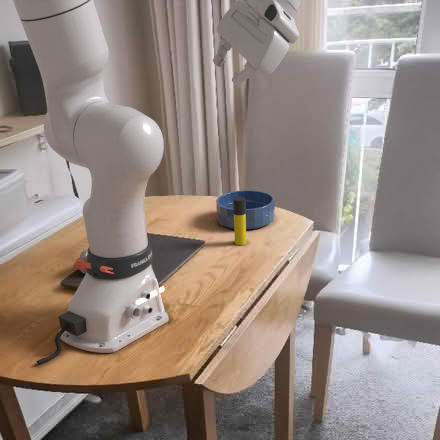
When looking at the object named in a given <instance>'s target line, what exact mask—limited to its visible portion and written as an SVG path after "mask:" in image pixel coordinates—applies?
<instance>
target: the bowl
mask: <svg viewBox="0 0 440 440" xmlns="http://www.w3.org/2000/svg"><path fill="white" fill-rule="evenodd" d="M235 197H244V198H245V199H246V230H255V229H259V228H262V227H265V226H268V225H270V224H271V223H272V222H274V220H275V217H276V213H275V212H276V199H275V196H274V195H273V194H270V193H269V192H266V191H262V190H255V189H242V190H241V189H240V190H234V191H229V192H225V193H223V194H221V195H219V196H218V197H217V198H216V200H215V204H216V205H215V210H216V220H217V223H218V224H220V225H221V226H224V227H226V228H230V229H233V230H234V209H233V199H234V198H235Z"/></svg>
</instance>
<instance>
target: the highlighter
mask: <svg viewBox="0 0 440 440" xmlns="http://www.w3.org/2000/svg"><path fill="white" fill-rule="evenodd" d="M233 209H234V229H233V231H234V233H233V234H234V245H236V246H244V245H247V229H246V199H245V198H244V197H235V198H234V199H233Z"/></svg>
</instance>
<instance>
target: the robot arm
mask: <svg viewBox="0 0 440 440" xmlns="http://www.w3.org/2000/svg"><path fill="white" fill-rule="evenodd" d="M12 1H13V5H14V8H15V10H16V13H17V16H18V18H19V21H20V23H21V25H22V28H23V31H24V34H25V36H26V38H27V41H28V43H29V46H30V48H31V51H32V54H33V57H34V58H35V62H36V64H37V67H38V71H39V73H40V77H41V80H42V86H43V90H44V95H45V102H46V103H45V104H46V113H45V116H44V120H43V133H44V137H45V140H46V142H47V144H48V146H49V147H50V149H51V150H53V151H54V152H55V153H56V154H57V155H58V156H60V157H61V158H62V159H64V160H65V161H67V162H68V163H69V164H73V165H75V166H79V167H81V168H86V169H87V170H88V171H89V173H90V177H91V189H90V196H89V198H87V200H85V202H84V204H83V206H82V217H83V218H82V219H83V222H84V223H83V224H84V229H85V233H86V238H87V242H88V243H87V244H88V248H87V249H88V252H87V260H83V259H80V258H79V257H78V258H76V259H75V262H74V267H75V269H76V270H79V269H82V270H84V271H86V272H87V273H86V274H84V277H83V278H82V280H81V281H80V284H79V286H78V287H77V288H76V291H75V292H74V294H73V296H72V297H71V299H70V301H69V303H68V306H67V311H65V312H63V313H62V314H60V315H58V316H57V318H58V322H59V326H60V329H59V330H58V332H57V333H56V335H55V338H54V345H55V347H56V349H55V352H53V354H51V355H48V356H46V357H45V356H44V357H42V358H40V359H37V360H36V363H37V365H42V364H44V363H47V362H49V361H52V360H53V359H55V358H57V357H58V356H59V355H60V353H61V351H62V346H61V343H60V340H61V341H62V342H63V343H65V344H67V345H68V346H71V347H73V348H76V349H79V350H83V351H86V352H91V353H98V354H99V353H100V354H110V353H115V352H117V351H119V350H121V349H122V348H125V347H126V346H128V345H130V344H132V343H134V342H135V341H137V340H139V339H141V338H143V336H145V335H147V334H149V333H150V332H152V331H154V330H156V329H158V328H159V327H162V326H163V325H164V324H167V323H168V322H169V321H170V318H169V315H168V313H167V312H166V310H165V304H164V302H163V300H162V296H161V293H163V292H164V291H165V286H159V282H158V279H157V277H156V274H155V272H154V269H153V266H152V263H153V260H154V259H153V250H152V247H151V246H152V245H151V242H150V241H149V240H148V232H147V222H146V212H145V196H146V191H147V190H146V189H147V185H148V182H149V179H150V177H151V176H152V175H153V174H154V173H155V172H156V171H157V170H158V168H159V166H160V165H161V163H162V159H163V157H164V151H165V141H164V136H163V132H162V130H161V128H160V127H159V125H158V123H157V122H156V121H155V120H154V119H153V118H152V117H149V116H148V115H146V114H144V113H143V112H141V111H139V110H137V109H135V108H134V107H131V106H126V105H122V104H116V103H111V102H110V101H109V99H108V97H107V95H106V92H105V85H104V69H105V67H106V66H107V64H108V62H109V56H110V51H109V47H108V42H107V40H106V37H105V34H104V30H103V26H102V24H101V20H100V17H99V14H98V11H97V8H96V4H95V1H94V0H12ZM302 2H303V0H236V1H235V2H234V3H232V5H231V6H230V7H229V8H228V10H227V11H226V12H225V13H224V15H223V16H222V17H221V19H220V20H219V21H218V23H217V26H216V30H215V31H216V33H217V34H218V35H219V36H220V37H221V40H220V41H219V43H218V47H217V52H216V54H215V55H214V57H213V58H212V63H213V64H214V65H215V66H216V67H218V68H219V69H220V68H222V67H223V65H224V64H225V62H226V56H227V53H228V52H230V51H231V49H232V48H233V50H235V51H236V52H237V53H238V54H239V55H240V56H241V57H242V58H244V59H245V60H246V62H245V63H244V66H243V69H242V70H241V71H240V72H235V74H234V75H233V77H231V82H232V84H234V85H235V86H236V87H238V88H241V87H242V85H244V83H245V81H247V80H249V79H250V78H252V77H253V76H255V74H256V73H257V72H258V73H259V74H261V75H262V76H263V77H265V78H267V77H268V76H270V75H272V74H273V73H274V71H275V70H276V69H277V68H278V66H279V65H280V63H281V62H282V60H284V58H285V56H286V55H287V53H288V52H289V49H290V44H292V45H294V44H295V43H296V41H297V40H298V39H299V37H300V32H299V29H298V27H297V25H296V21H295V18H294V16H295V15H296V14H297V12H298V10H299V8H300V6H301V3H302Z"/></svg>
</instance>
